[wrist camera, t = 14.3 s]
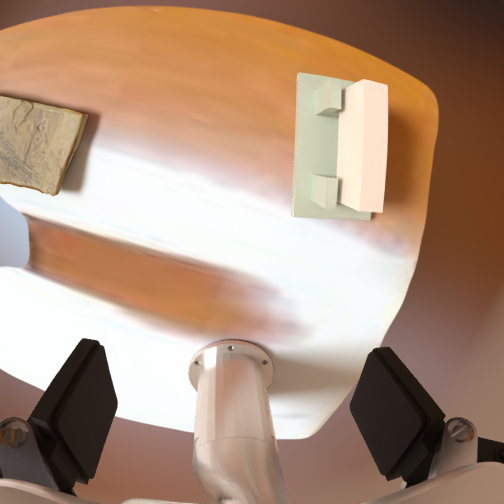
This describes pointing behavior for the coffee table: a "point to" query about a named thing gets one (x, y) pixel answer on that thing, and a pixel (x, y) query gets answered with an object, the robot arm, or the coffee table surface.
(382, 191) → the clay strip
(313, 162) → the grey mounting plate
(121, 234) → the coffee table surface
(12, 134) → the stone slab
